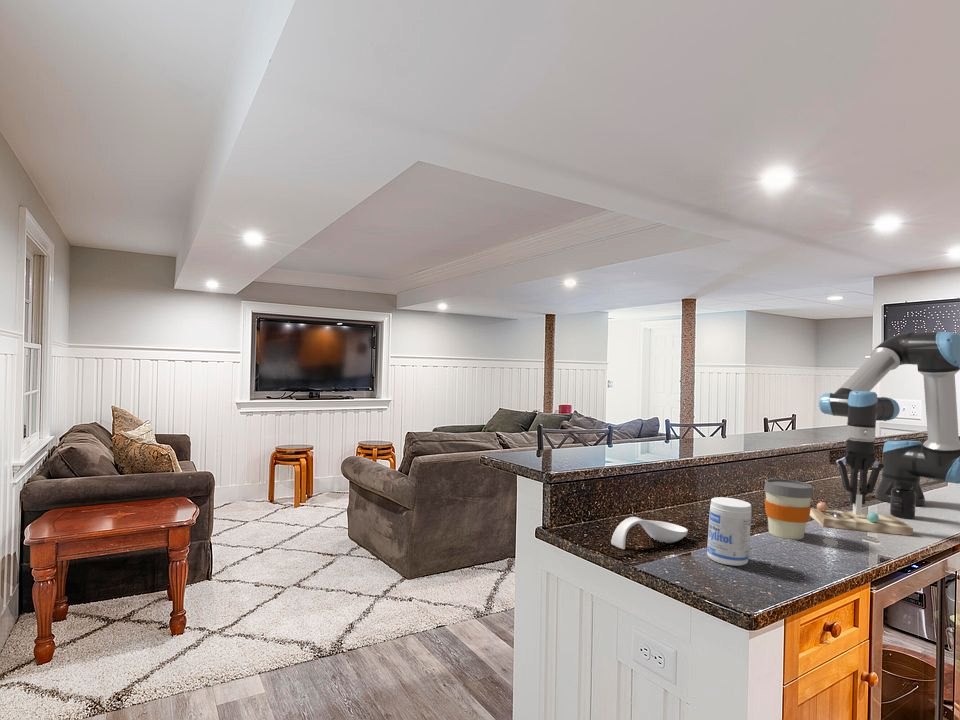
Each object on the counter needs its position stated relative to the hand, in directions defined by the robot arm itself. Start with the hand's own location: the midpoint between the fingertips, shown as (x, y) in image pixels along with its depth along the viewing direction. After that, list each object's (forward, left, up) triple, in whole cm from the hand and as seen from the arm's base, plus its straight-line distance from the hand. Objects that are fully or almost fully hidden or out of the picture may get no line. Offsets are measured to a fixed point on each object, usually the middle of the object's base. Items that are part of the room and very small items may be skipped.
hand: (856, 514), depth 178 cm
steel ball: (+5, 0, -2) cm, 6 cm away
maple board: (-1, 0, -4) cm, 4 cm away
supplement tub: (+46, +50, -4) cm, 68 cm away
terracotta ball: (+9, -3, 0) cm, 10 cm away
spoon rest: (+65, +43, -4) cm, 78 cm away
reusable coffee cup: (+25, +20, -4) cm, 33 cm away
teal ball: (-3, +5, 0) cm, 6 cm away
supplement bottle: (-21, -19, -4) cm, 28 cm away
